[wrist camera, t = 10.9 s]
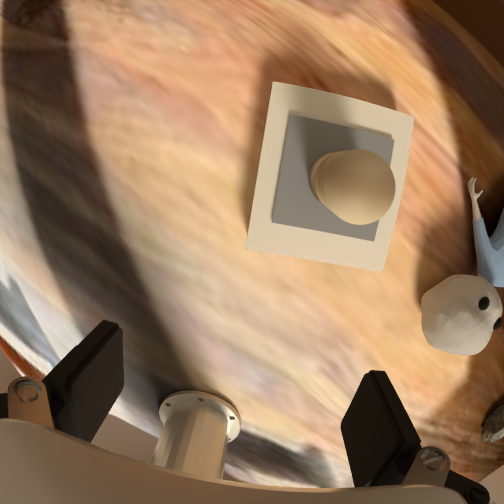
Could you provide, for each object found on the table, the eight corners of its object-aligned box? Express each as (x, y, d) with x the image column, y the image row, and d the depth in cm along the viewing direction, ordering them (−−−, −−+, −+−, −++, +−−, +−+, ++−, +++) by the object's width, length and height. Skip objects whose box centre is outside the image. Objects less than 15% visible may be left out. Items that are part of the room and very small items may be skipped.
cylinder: (356, 211, 27) (387, 230, 19) (304, 202, 27) (318, 217, 20) (365, 158, 26) (401, 158, 18) (313, 147, 26) (330, 141, 18)
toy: (581, 224, 23) (484, 398, 27) (540, 217, 33) (448, 365, 37) (532, 108, 20) (410, 321, 24) (484, 118, 30) (369, 289, 34)
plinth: (370, 259, 33) (383, 273, 29) (248, 238, 33) (245, 250, 29) (398, 121, 28) (416, 116, 24) (272, 90, 28) (273, 79, 24)
